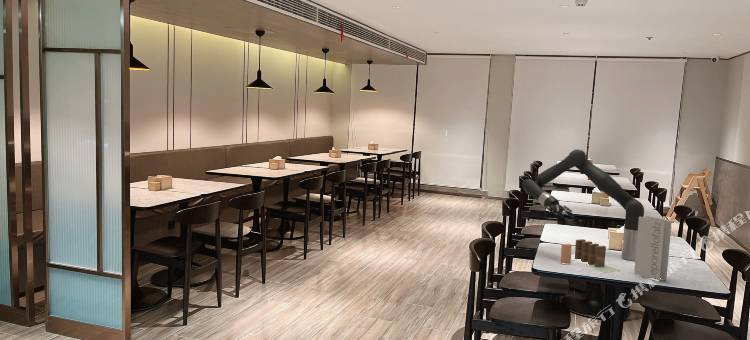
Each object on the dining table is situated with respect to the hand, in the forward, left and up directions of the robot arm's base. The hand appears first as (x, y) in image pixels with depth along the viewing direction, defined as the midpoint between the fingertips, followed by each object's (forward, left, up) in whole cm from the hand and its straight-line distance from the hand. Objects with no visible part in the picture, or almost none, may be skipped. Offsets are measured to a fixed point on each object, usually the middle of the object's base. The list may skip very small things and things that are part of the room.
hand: (568, 216), depth 305 cm
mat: (-12, +1, -25) cm, 28 cm away
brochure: (-34, +25, -25) cm, 49 cm away
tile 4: (-13, +4, -25) cm, 28 cm away
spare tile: (+2, +4, -25) cm, 26 cm away
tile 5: (-15, +9, -25) cm, 30 cm away
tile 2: (-10, -5, -25) cm, 27 cm away
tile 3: (-12, -1, -25) cm, 27 cm away
